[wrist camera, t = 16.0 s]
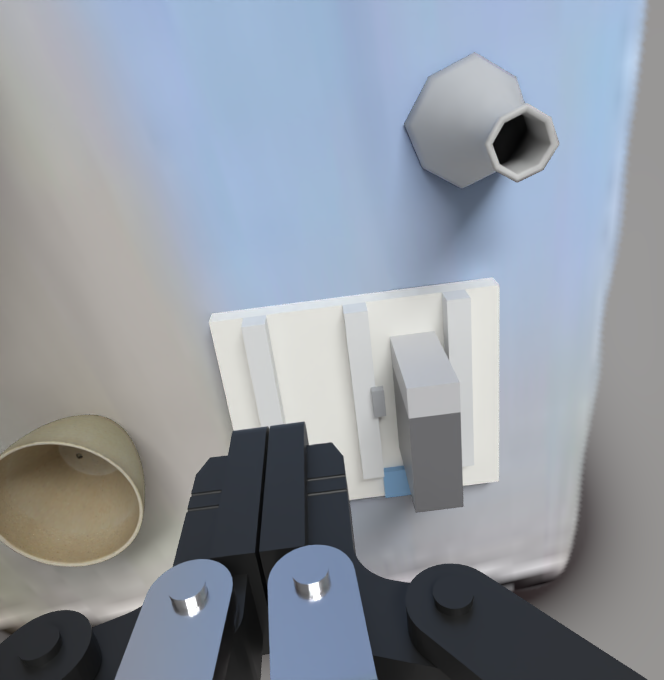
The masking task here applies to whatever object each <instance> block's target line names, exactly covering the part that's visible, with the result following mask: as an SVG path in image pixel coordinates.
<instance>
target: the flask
mask: <svg viewBox="0 0 664 680" xmlns="http://www.w3.org/2000/svg"><path fill="white" fill-rule="evenodd" d="M404 125H405V127H406V130H407V132H408V135H409V137H410V139H411V142H412V144H413V147H414V149H415V151H416V154H417V156H418V158H419V161H420V163H421V166H422V168H423V169H425V170H427V171H429V172H431V173H433V174H435V175H436V176H438V177H440V178H442V179H444V180H446V181H448V182H450V183H452V184H453V185H455V186H457V187H459V188H461V189H463V188H465V187H467V186H469V185H471V184H473V183H475V182H477V181H479V180H481V179H483V178H485V177H487V176H489V175H491V174H493V173H495V172H498V173H500V174H502V175H504V176H506V177H507V178H509V179H511V180H513V181H515V182H519V181H522V180H524V179H526V178H528V177H530V176H532V175H534V174H536V173H538V172H540V171H542V170H544V168H545V166H546V165H547V163H548V162H549V160H550V158H551V157H552V155H553V154H554V152H555V150H556V149H557V147H558V146H559V141H558V138H557V135H556V131H555V128H554V125H553V122H552V119H551V117H550V116H548V115H546V114H545V113H543V112H541V111H539V110H538V109H536V108H534V107H533V106H531V105H529V104H527V103H525V102H524V99H523V96H522V93H521V90H520V87H519V84H518V81H517V78H516V76H514V75H512V74H511V73H509V72H507V71H505V70H504V69H502V68H500V67H499V66H497V65H495V64H494V63H492V62H490V61H489V60H487V59H485V58H484V57H482V56H480V55H479V54H477V53H475V52H474V53H472V54H470V55H468V56H467V57H465V58H463V59H461V60H459V61H457V62H455V63H453V64H451V65H450V66H448V67H446V68H444V69H442V70H440V71H438V72H436V73H434V74H433V75H431V76H429V77H428V79H427V81H426V82H425V84H424V86H423V88H422V90H421V92H420V94H419V96H418V98H417V100H416V102H415V104H414V106H413V107H412V109H411V111H410V113H409V115H408V117H407V119H406V121H405V123H404Z"/></svg>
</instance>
